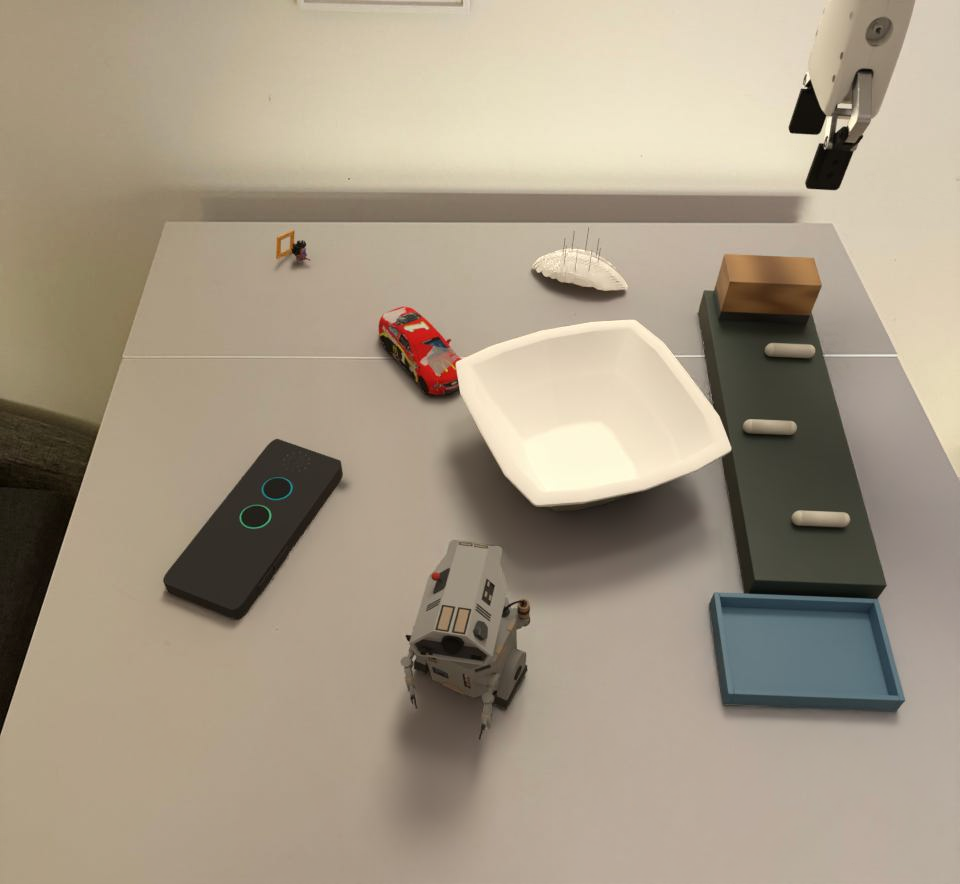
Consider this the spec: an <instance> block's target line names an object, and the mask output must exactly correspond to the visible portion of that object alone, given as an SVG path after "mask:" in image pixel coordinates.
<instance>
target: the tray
mask: <svg viewBox="0 0 960 884" xmlns="http://www.w3.org/2000/svg"><path fill="white" fill-rule="evenodd" d="M708 607H709V616H710V622H711V623H710V624H711V630H712V639H713V645H714V651H715V659H716V660H715V661H716V666H717V667H716V668H717V673H718V680H719V688H720V694H721V702H722V705H725V706H749V707H750V706H751V707H752V706H753V707H772V708H773V707H775V708H777V707H778V708H799V709H800V708H801V709H825V710H827V709H828V710H848V711H849V710H851V711H852V710H853V711H877V712H897V711H898V710H899V709H900V708H901V707H902V706H903V704H904V703H905V702H906V697H905V694H904V691H903V687H902V683H901V678H900V675H899V672H898V671H899V670H898V668H897V664H896V660H895V656H894V652H893V649H892V645H891V642H890V638H889V634H888V630H887V626H886V623H885V620H884V615H883V612H882V611H883V610H882V607H881V604H880V601H879V598H878V599H865V598H841V597H816V596H792V595H767V594H745V593H740V592H739V593H738V592H717V591H716V592H715V591H714V592H713V593H712V596H711V597H710V601H709V603H708Z"/></svg>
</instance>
